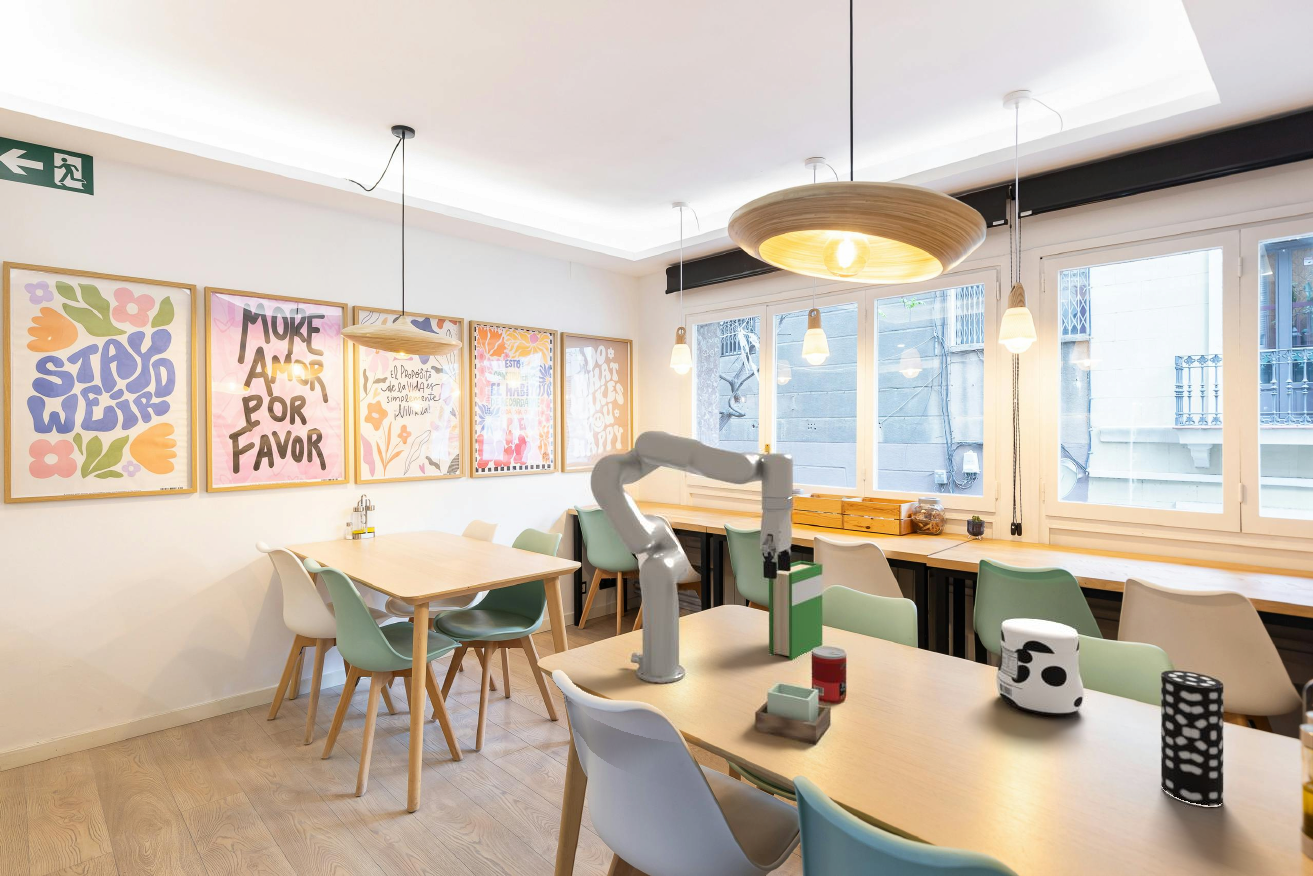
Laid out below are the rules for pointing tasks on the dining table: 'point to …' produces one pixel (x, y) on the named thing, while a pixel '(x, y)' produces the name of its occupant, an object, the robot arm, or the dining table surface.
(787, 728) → the large crate
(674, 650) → the robot arm
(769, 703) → the small crate
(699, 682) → the dining table surface
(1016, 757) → the dining table surface
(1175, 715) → the spotted tube
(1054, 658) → the milk container
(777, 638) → the hardback book
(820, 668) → the canned food
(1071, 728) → the dining table surface
